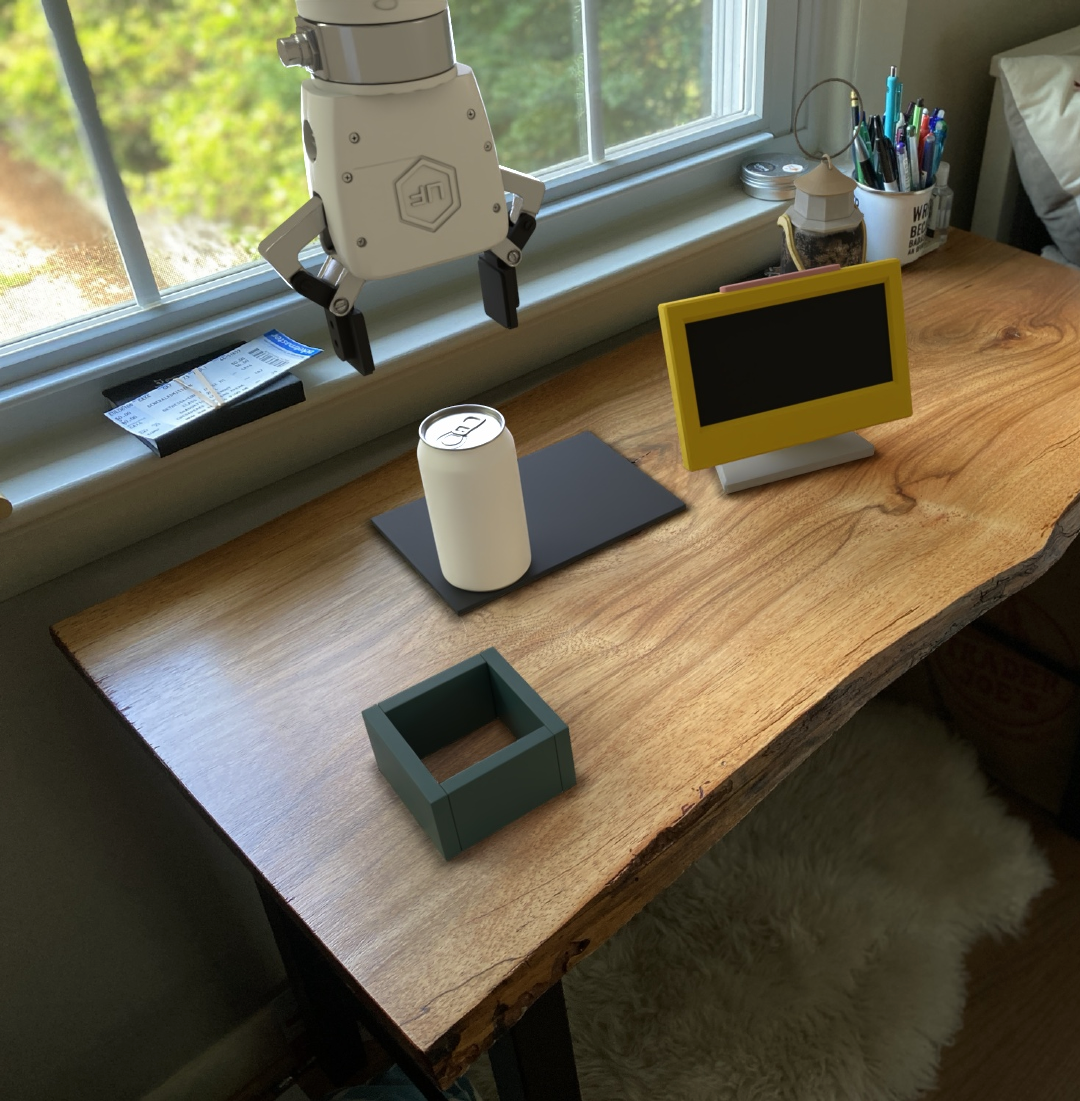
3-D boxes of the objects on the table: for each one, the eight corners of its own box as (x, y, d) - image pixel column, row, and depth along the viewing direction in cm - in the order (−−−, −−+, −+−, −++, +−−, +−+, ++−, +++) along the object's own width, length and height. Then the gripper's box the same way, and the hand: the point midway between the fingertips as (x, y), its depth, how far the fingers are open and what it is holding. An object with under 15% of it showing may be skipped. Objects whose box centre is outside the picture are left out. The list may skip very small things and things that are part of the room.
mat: (458, 617, 77) (457, 611, 77) (371, 523, 86) (370, 518, 85) (686, 509, 87) (686, 503, 87) (588, 434, 95) (587, 430, 95)
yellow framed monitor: (691, 508, 87) (685, 326, 77) (655, 458, 93) (645, 282, 83) (909, 450, 93) (929, 275, 84) (864, 406, 99) (877, 237, 89)
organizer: (446, 862, 61) (430, 804, 58) (378, 768, 66) (360, 711, 63) (577, 784, 65) (569, 726, 62) (503, 702, 71) (493, 645, 67)
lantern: (836, 321, 112) (852, 60, 96) (877, 356, 106) (901, 84, 91) (759, 339, 109) (763, 72, 94) (797, 375, 103) (808, 98, 88)
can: (424, 582, 79) (391, 440, 72) (473, 531, 84) (448, 393, 76) (502, 604, 77) (477, 461, 70) (548, 551, 82) (529, 412, 74)
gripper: (242, 91, 51) (323, 412, 62) (559, 37, 60) (584, 325, 71) (188, 59, 56) (272, 362, 66) (491, 12, 65) (523, 287, 75)
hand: (433, 343), depth 68 cm, fingers open, 9 cm apart
